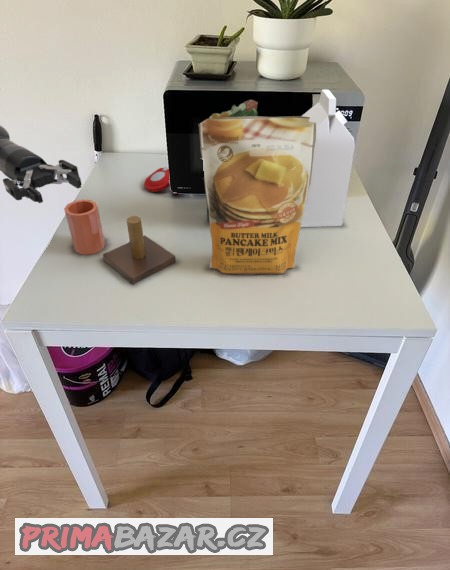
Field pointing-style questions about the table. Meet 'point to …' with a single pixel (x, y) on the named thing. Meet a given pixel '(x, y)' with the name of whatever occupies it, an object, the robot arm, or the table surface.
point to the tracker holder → (158, 180)
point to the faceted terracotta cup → (85, 226)
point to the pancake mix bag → (256, 189)
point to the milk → (328, 165)
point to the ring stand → (138, 254)
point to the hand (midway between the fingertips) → (60, 190)
